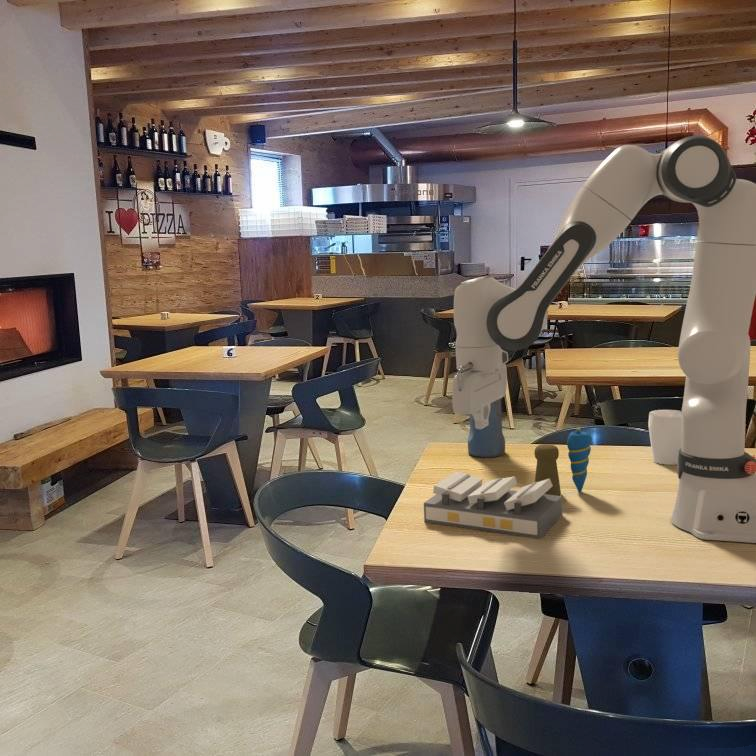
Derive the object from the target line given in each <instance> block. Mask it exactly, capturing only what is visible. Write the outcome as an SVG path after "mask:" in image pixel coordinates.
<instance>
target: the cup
mask: <svg viewBox="0 0 756 756" xmlns="http://www.w3.org/2000/svg"><path fill="white" fill-rule="evenodd" d="M647 425H648V432H649V441H650V446H651V455H652V456H651V457H652V461H653V462H654V463H655V464H658V463H659V464H660V465H663V464H664V465H665V466H666V465H667V466H673V465H674V466H676V465H678V454H679V450H680V448H681V425H682V410H677V409H657V410H656V409H655V410H651V411H649V413H648V424H647Z"/></svg>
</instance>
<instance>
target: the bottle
mask: <svg viewBox="0 0 756 756" xmlns="http://www.w3.org/2000/svg"><path fill="white" fill-rule="evenodd" d="M490 406H491V409H490V413H489V417H488V421H489V425H488V426H486V427H485V428H483V429H476V428H475V420H474V418H473V416H472V414H469V434H468V437H467V452H468V454H469V455H470V456H473V457H475V458H482V459H483V458H496V457H500V456H503V455H504V454H505V453H506V438H505V436H504V433H503V421H502V418H503V417H502V398H500V399H498V400H496V401H494V402H492V403H490Z"/></svg>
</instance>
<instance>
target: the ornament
mask: <svg viewBox="0 0 756 756" xmlns="http://www.w3.org/2000/svg"><path fill="white" fill-rule="evenodd" d="M581 430H582V429H581V428H580V427H579V425H577V427H576V428H575V431H571V432H570V433H569V434H568V437H567V440H566V445H567V448H568V459H569V461H570V471H571V473H572V475H571V476H572V477H571V479H572V482H573V483H574V486H575V487H576V490H577V492H578V493H579V492H580V493H581V492H583V487H584V484H585V482H586V479H587V475H588V465H589V463H590V459H589V456H590V454H591V452H592V451H591V450H592V447H591V443H592V436H591V434H590V433H589V432H586V431H581Z"/></svg>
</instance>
